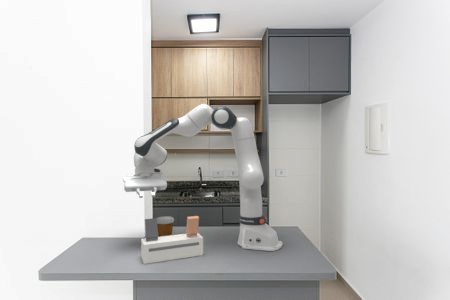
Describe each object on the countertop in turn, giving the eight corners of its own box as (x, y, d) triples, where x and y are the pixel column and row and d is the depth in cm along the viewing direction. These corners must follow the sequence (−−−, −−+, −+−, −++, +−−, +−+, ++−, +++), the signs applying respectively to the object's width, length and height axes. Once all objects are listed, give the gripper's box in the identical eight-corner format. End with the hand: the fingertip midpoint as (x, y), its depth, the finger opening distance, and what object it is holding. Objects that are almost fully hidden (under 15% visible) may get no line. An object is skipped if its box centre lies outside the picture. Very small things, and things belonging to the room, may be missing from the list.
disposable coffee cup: (170, 244, 150) (170, 220, 150) (152, 243, 152) (152, 219, 152) (177, 238, 160) (176, 216, 160) (160, 237, 162) (160, 215, 162)
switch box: (141, 256, 133) (141, 238, 133) (197, 248, 143) (197, 232, 143) (144, 264, 125) (143, 245, 125) (203, 255, 135) (203, 237, 135)
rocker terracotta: (185, 234, 138) (187, 216, 135) (196, 233, 139) (197, 215, 137) (186, 236, 136) (188, 219, 133) (197, 235, 138) (199, 218, 135)
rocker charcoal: (145, 241, 130) (144, 219, 133) (157, 239, 132) (156, 218, 135) (146, 240, 128) (145, 219, 131) (158, 239, 130) (156, 218, 133)
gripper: (123, 171, 145) (124, 194, 136) (165, 169, 153) (169, 191, 144) (122, 179, 149) (124, 202, 140) (163, 177, 157) (167, 199, 148)
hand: (147, 196), depth 142 cm, fingers open, 4 cm apart
